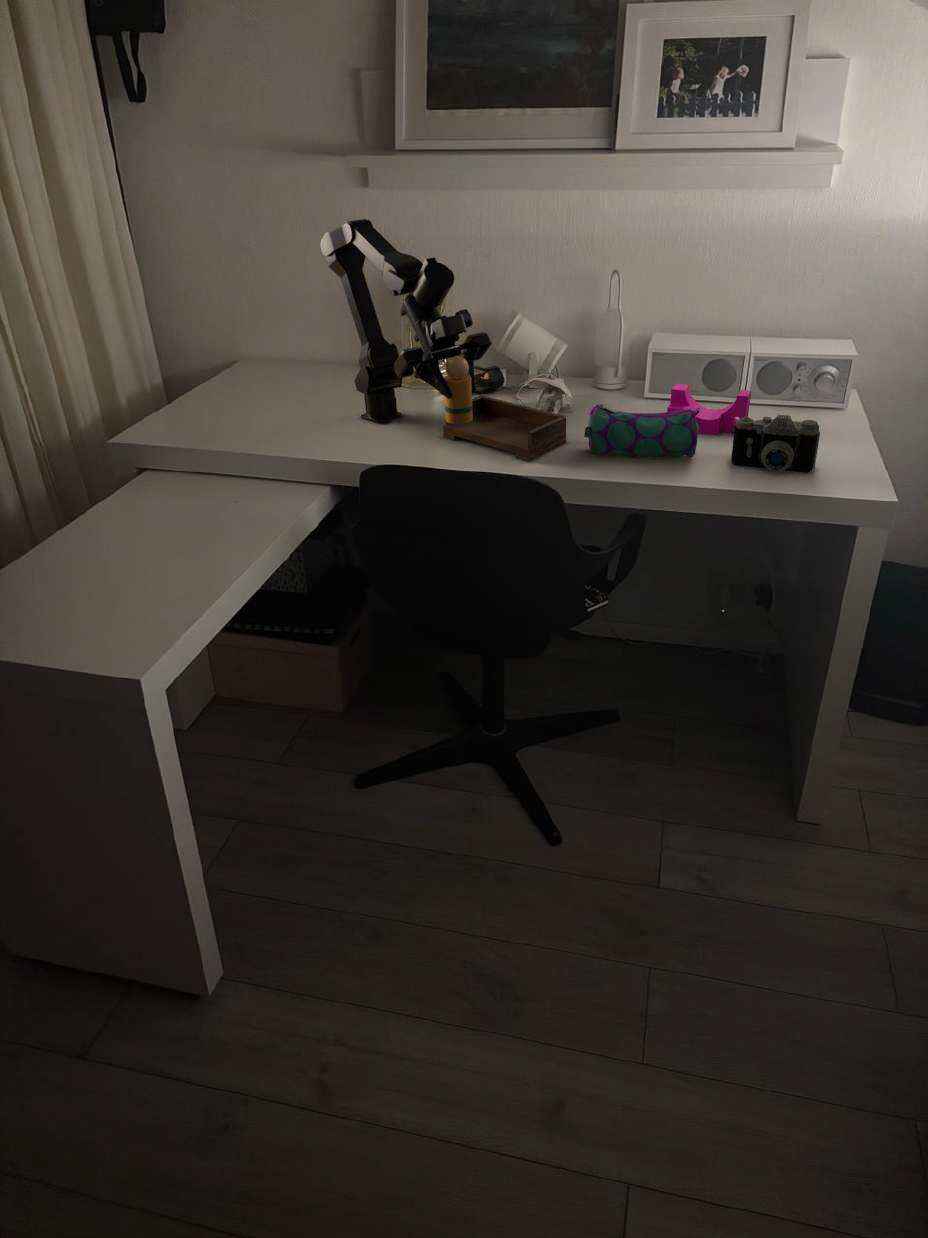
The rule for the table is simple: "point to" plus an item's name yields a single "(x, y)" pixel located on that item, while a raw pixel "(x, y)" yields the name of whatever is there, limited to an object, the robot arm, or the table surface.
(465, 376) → the doll
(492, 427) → the wooden desk tray
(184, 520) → the table surface
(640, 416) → the pencil case
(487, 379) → the toy figure
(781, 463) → the camera
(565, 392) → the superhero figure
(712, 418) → the toy block
